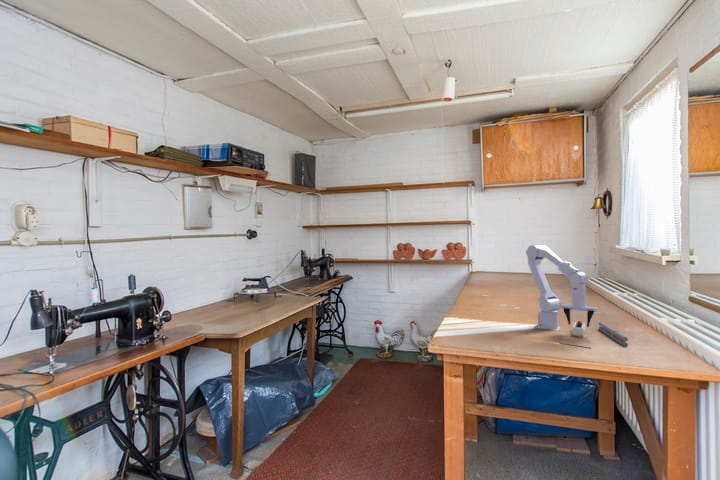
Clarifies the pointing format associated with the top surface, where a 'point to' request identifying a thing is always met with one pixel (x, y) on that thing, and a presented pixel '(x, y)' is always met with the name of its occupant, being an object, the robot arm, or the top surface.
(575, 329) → the steel link
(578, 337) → the post stand
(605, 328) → the metal rod assembly
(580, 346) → the rubber mat
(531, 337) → the top surface
